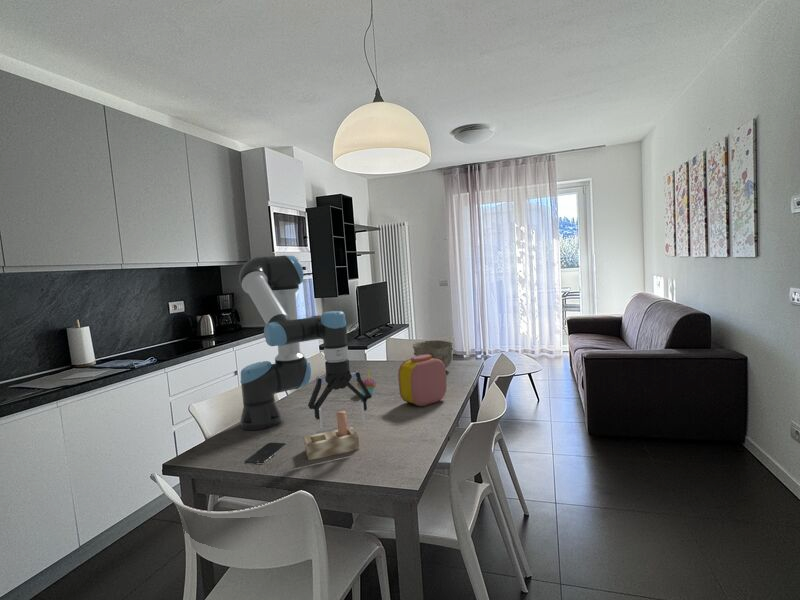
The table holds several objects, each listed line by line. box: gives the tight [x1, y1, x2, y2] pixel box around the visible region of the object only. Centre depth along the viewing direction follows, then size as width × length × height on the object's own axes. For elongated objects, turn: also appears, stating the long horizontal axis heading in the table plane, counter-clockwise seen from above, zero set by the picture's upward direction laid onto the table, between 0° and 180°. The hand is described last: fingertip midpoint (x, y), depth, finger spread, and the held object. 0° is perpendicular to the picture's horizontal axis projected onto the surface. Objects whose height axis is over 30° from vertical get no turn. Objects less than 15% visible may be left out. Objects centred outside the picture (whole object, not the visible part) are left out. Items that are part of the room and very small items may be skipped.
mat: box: [316, 427, 338, 434], centre depth 152 cm, size 10×10×1 cm
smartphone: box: [243, 442, 287, 464], centre depth 141 cm, size 7×1×15 cm
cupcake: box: [357, 368, 377, 396], centre depth 197 cm, size 9×8×12 cm
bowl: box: [412, 339, 454, 369], centre depth 230 cm, size 22×22×15 cm
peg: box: [336, 410, 348, 437], centre depth 140 cm, size 3×3×12 cm
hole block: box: [303, 426, 360, 461], centre depth 139 cm, size 16×8×5 cm, turn 110°
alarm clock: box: [397, 354, 448, 407], centre depth 181 cm, size 18×11×19 cm, turn 126°
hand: (342, 424), depth 140 cm, fingers open, 13 cm apart
